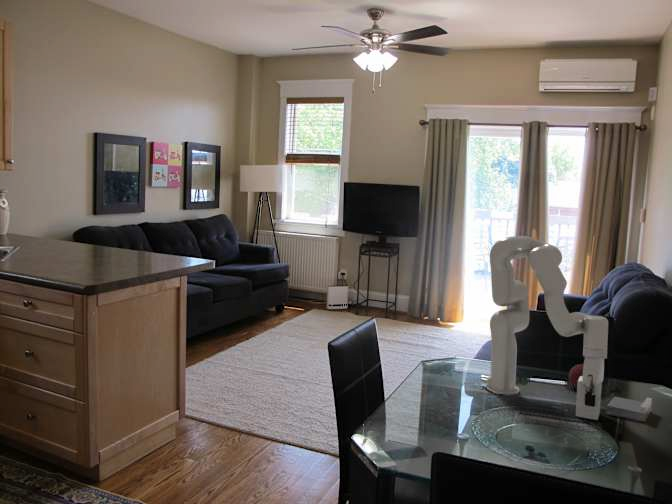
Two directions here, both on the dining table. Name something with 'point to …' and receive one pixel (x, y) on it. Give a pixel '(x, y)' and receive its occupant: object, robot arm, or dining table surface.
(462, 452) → the dining table surface
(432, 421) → the dining table surface
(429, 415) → the dining table surface
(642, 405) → the stand plate
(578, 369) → the decorative ball
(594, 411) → the supplement box
